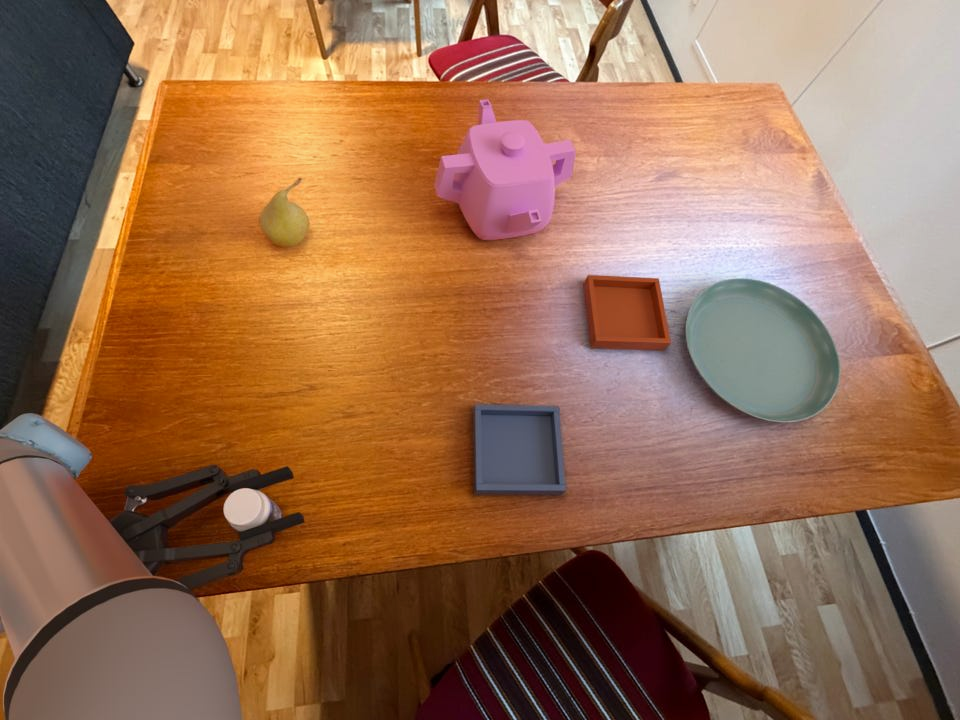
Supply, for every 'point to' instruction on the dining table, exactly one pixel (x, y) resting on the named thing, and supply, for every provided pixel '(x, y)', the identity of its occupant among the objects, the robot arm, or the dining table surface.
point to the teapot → (504, 176)
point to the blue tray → (518, 450)
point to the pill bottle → (249, 509)
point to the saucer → (762, 350)
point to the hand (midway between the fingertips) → (295, 494)
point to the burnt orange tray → (626, 313)
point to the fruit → (284, 220)
